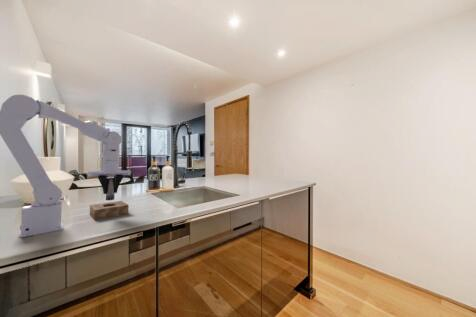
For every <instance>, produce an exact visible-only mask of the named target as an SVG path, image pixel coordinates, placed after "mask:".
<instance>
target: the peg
mask: <svg viewBox="0 0 476 317" xmlns="http://www.w3.org/2000/svg"><path fill="white" fill-rule="evenodd" d="M106 178H107V185H106V188H107V194H105V201H114V200H115V194H116V193H115V178H114V177H106Z"/></svg>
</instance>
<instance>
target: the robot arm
mask: <svg viewBox="0 0 476 317" xmlns="http://www.w3.org/2000/svg"><path fill="white" fill-rule="evenodd" d="M37 115H38V119H53V120H54V121H57V122H61V123H63V124H65V125H68V126H70V127H72V128H75V129H78V131H79V132H80V134H81V135H83V136H86V137H88V138H91V139H93V140H94V141H95V140H96V141H97V142H101V143H102V145H103V146H102V147H103V148H102V162H101V163H102V168H101V169H102V170H97V171H96V170H95V171H93V170H92V171H87V177H89V178H90V177H91V178H92V177H97V180H98V182H99V183H100V185H101V188H102V192H103V193H102V194H104V195H106V194H107V188H106V185H107V178H108V177H110V176H111V177H113V178H115V194H117V193H118V190H119V186H120V184H121V182H122V180H123V179H124V176H131V172H132V171H131V170H120V144H122V143H123V142H122V141H123V138H122V136H121V134H120V133H118V132H116V131H111V129H110V128H106V127H103V125H100V124H98V122H96V121H94V120H93V121H91V120H87V121H82V120H81V119H79V118H76V117H74V116H73V115H71V114H69V113H67V112H64V111H62V110H61V109H58V108H56V107H55V106H53V105H51V104H48V103H46V102H44V101H42V100H40V99H36V100H35V99H34V98H33V97H31V96H29V95H26V94H22V93H21V94H20V93H19V94H13V95H11V96H10V97H9V98H7V99H6V100H5V101H3V102H2V103H1V107H0V137H1V138H2V140H3V142H4V144H5V145H6V146H7V148H8V150H9V151H10V153H11V155H12V156H13V158H14V159H15V161H16V163H17V164H18V165H19V167H20V169H21V171H22V172H23V174H24V176H25V177H26V179H27V180H28V182H29V185H30V186H31V187H32V189H33V190H32V191H33V192H32V194H33V197H34V201H33V202H31V205H24V206H22V207H21V223H20V224H19V230H20V238H25V237H30V236H36V235H41V234H47V233H51V232H56V231H61V230H64V226H63V222H62V207H63V203H62V202H63V201H62V199H61V198H62V195H63V192H62V189H61V188H60V187H59V186H57V184H56V183H54V182H52V180H51V178H50V176H49V175H48V174H47V172H46V171H45V169H44V167H43V165H42V164H41V162H40V160H39V159H38V157H37V154H36V153H35V152H34V149H33V148H32V146H31V145H30V143H29V142H28V139H27V137H26V136H25V134H24V132H23V131H22V129H23V127H24V125H25V124H26V123H27V122H28V121H30V120H32V119H33V118H35V117H36V116H37Z"/></svg>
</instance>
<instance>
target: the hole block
mask: <svg viewBox="0 0 476 317" xmlns="http://www.w3.org/2000/svg"><path fill="white" fill-rule="evenodd" d="M89 215H90V216H91V218H92V219H93V221H97V220H98V221H99V220H102V219H109V218H114V217H120V216H125V215H129V204H128V203H126V202H124V201H123V200H119V201H112V202H111V201H109V202H103V203H97V204H96V203H95V204H90V205H89Z"/></svg>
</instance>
